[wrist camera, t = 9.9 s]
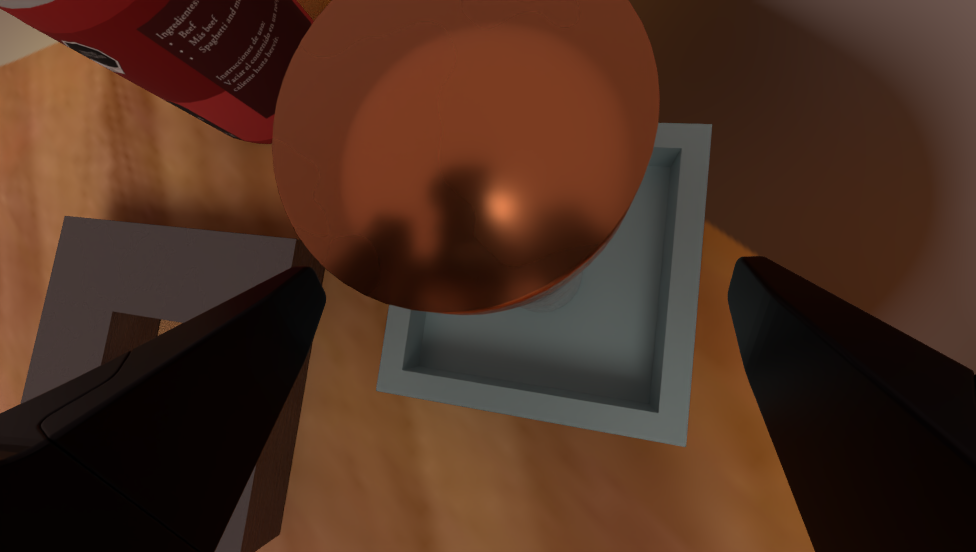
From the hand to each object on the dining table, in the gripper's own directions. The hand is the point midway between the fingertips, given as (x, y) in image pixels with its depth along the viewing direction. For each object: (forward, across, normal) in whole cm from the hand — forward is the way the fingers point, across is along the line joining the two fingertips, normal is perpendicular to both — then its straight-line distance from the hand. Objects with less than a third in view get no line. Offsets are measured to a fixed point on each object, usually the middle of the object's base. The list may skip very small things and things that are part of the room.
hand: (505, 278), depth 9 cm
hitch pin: (+8, 0, +6) cm, 10 cm away
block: (+5, +19, +9) cm, 22 cm away
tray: (+8, 0, +6) cm, 10 cm away
